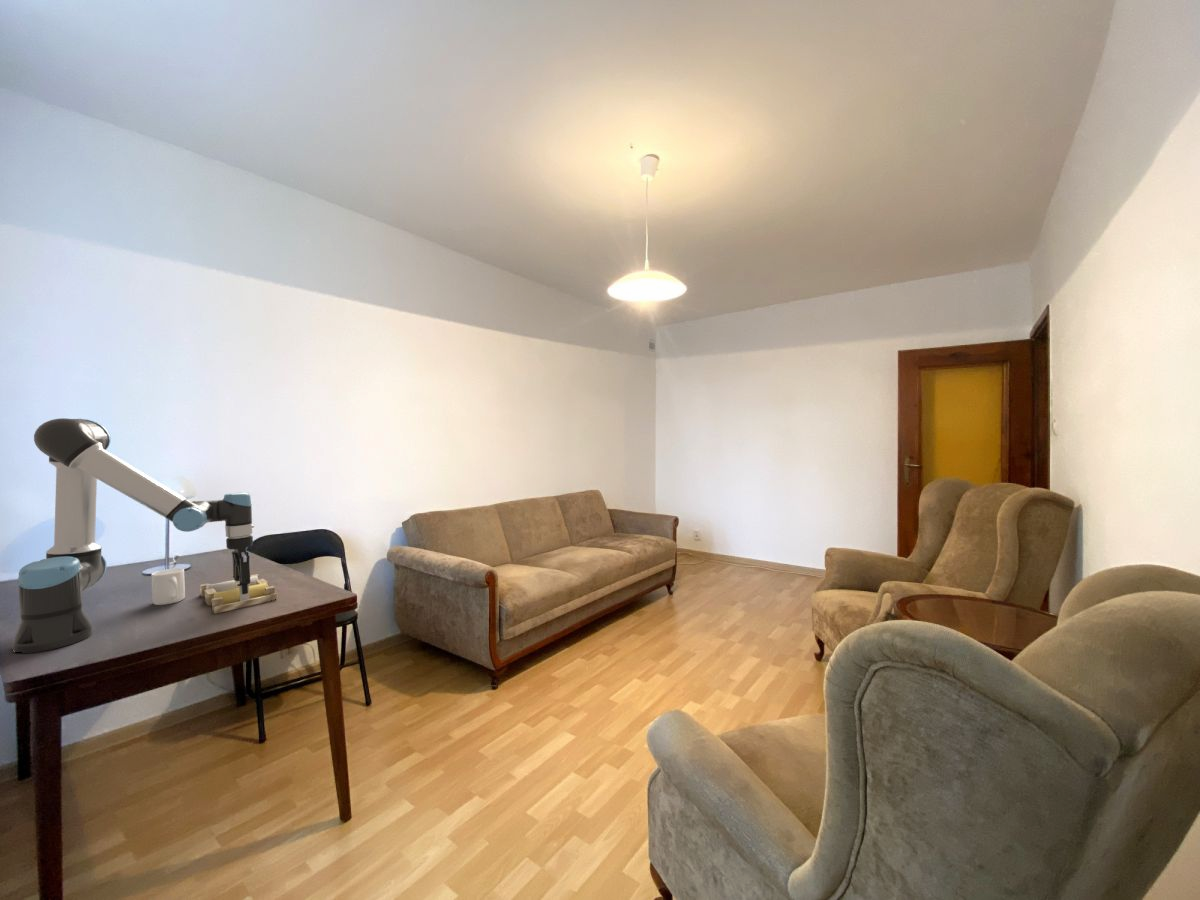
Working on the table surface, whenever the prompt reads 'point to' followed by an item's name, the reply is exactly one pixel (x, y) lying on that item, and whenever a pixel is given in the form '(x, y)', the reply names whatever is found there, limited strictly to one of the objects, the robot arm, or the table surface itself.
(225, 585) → the white cylinder
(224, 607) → the wooden rack
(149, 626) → the table surface
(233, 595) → the yellow cylinder
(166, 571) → the mug
